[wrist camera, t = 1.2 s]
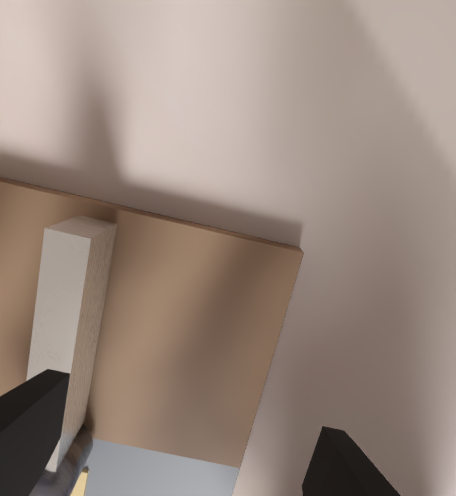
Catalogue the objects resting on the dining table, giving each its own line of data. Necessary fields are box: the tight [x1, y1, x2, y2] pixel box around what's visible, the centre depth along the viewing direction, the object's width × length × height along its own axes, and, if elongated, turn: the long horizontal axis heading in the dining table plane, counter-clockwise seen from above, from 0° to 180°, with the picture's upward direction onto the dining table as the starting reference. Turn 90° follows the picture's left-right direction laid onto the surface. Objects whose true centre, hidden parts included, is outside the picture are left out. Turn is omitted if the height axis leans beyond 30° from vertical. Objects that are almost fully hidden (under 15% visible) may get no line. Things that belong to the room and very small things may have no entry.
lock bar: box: [26, 215, 117, 496], centre depth 15 cm, size 13×3×3 cm, turn 167°
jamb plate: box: [0, 177, 304, 468], centre depth 18 cm, size 18×12×1 cm, turn 77°
